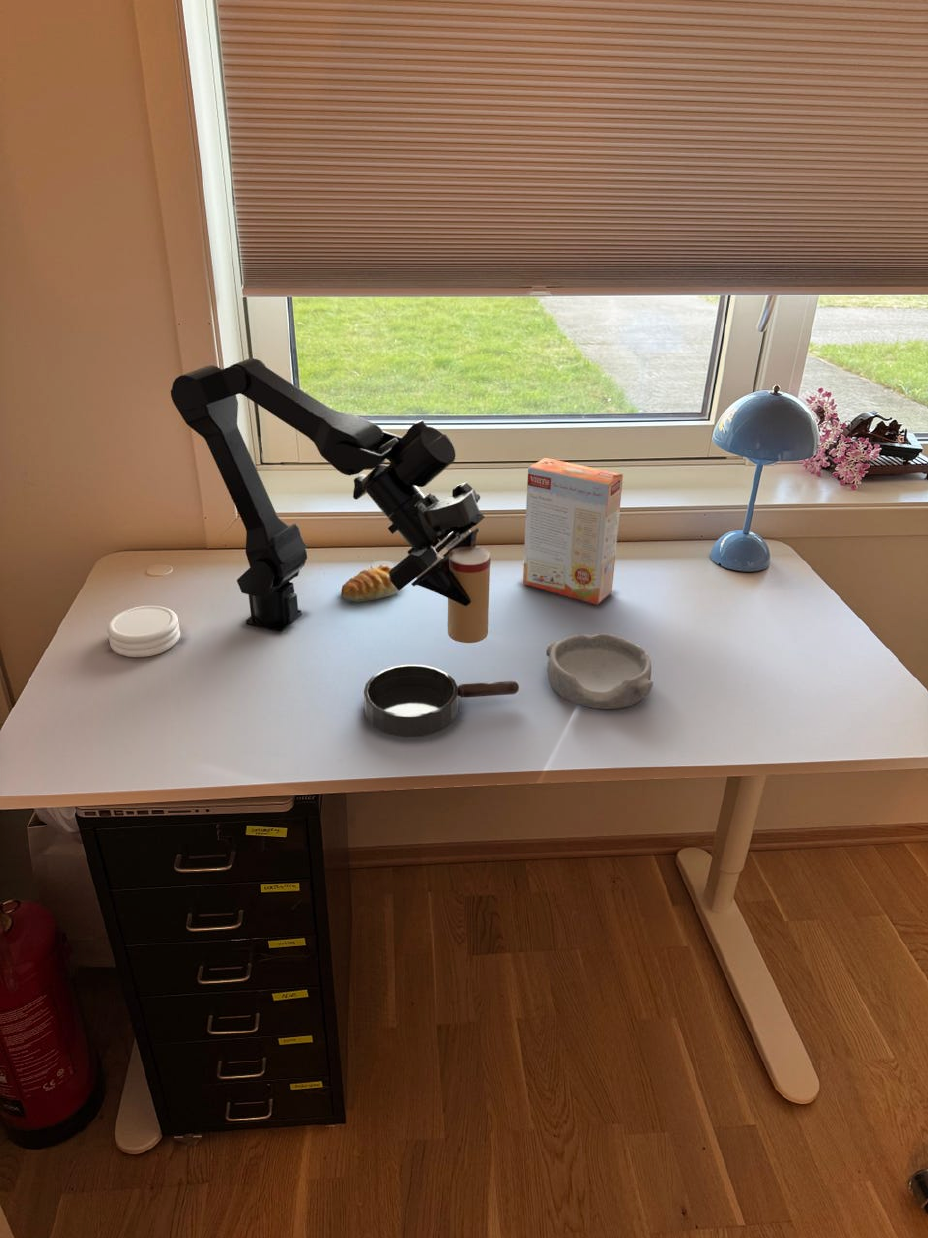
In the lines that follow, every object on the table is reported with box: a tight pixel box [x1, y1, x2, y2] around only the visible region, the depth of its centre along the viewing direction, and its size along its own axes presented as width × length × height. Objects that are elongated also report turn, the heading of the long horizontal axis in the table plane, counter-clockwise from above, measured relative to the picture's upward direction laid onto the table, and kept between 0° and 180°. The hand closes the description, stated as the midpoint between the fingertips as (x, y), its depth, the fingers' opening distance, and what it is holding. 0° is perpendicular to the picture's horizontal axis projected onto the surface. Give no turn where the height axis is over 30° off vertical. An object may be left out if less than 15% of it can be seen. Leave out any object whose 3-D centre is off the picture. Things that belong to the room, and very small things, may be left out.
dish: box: [546, 632, 654, 710], centre depth 128 cm, size 14×14×5 cm
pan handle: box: [457, 680, 520, 699], centre depth 123 cm, size 8×2×2 cm, turn 98°
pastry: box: [340, 564, 399, 603], centre depth 151 cm, size 9×7×4 cm
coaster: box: [106, 605, 181, 658], centre depth 137 cm, size 10×10×4 cm
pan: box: [363, 664, 459, 738], centre depth 123 cm, size 12×12×4 cm
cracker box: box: [522, 457, 624, 606], centre depth 149 cm, size 14×6×21 cm, turn 58°
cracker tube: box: [447, 546, 492, 644], centre depth 126 cm, size 6×6×12 cm
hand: (477, 594), depth 126 cm, fingers closed on cracker tube, 5 cm apart
